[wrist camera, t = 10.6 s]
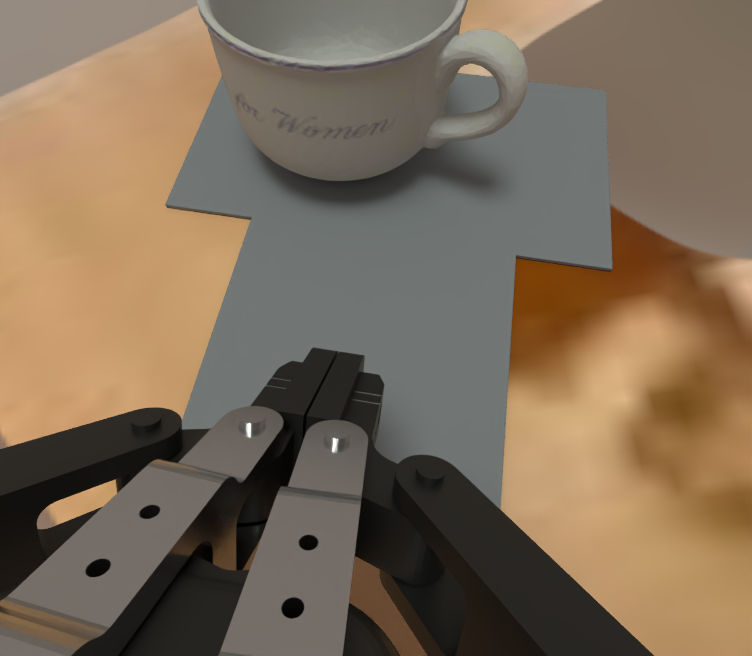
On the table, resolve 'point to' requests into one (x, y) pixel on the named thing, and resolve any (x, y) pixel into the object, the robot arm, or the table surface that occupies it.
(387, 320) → the t mat
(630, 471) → the table surface
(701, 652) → the table surface
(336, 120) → the teacup
